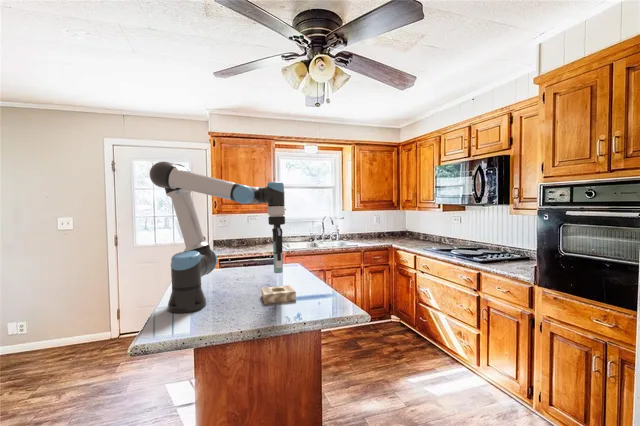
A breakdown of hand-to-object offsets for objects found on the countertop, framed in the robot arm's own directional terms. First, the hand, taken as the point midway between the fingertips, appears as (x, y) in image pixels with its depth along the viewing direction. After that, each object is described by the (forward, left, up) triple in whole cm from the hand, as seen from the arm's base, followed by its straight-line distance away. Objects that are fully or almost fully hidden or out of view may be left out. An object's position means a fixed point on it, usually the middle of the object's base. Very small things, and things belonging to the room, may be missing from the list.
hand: (278, 266), depth 145 cm
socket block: (0, 0, -15) cm, 15 cm away
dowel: (0, 0, -3) cm, 3 cm away
